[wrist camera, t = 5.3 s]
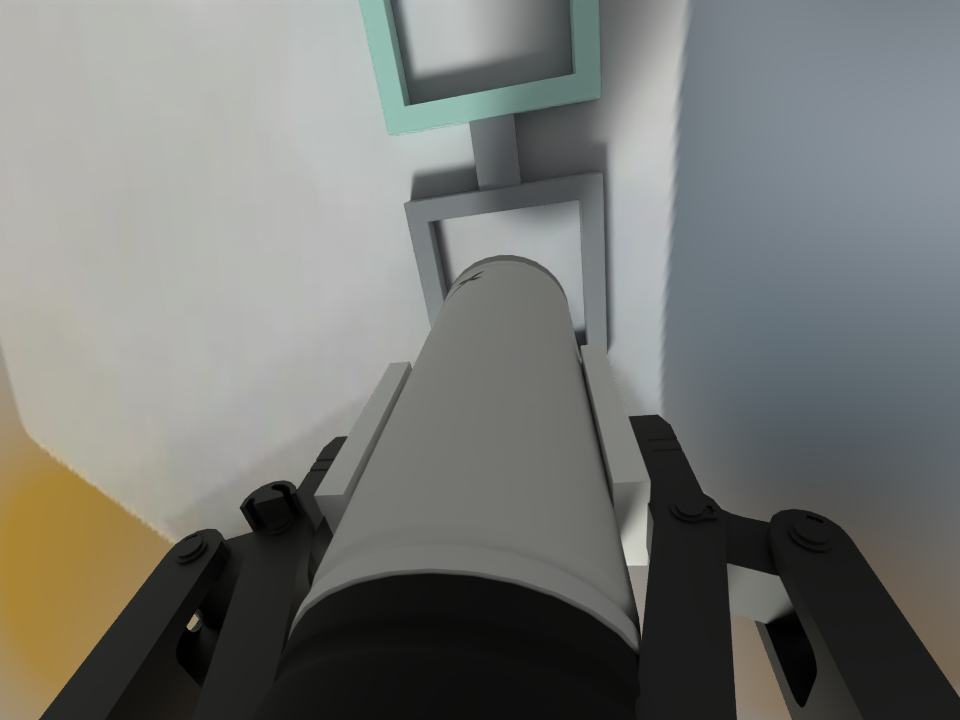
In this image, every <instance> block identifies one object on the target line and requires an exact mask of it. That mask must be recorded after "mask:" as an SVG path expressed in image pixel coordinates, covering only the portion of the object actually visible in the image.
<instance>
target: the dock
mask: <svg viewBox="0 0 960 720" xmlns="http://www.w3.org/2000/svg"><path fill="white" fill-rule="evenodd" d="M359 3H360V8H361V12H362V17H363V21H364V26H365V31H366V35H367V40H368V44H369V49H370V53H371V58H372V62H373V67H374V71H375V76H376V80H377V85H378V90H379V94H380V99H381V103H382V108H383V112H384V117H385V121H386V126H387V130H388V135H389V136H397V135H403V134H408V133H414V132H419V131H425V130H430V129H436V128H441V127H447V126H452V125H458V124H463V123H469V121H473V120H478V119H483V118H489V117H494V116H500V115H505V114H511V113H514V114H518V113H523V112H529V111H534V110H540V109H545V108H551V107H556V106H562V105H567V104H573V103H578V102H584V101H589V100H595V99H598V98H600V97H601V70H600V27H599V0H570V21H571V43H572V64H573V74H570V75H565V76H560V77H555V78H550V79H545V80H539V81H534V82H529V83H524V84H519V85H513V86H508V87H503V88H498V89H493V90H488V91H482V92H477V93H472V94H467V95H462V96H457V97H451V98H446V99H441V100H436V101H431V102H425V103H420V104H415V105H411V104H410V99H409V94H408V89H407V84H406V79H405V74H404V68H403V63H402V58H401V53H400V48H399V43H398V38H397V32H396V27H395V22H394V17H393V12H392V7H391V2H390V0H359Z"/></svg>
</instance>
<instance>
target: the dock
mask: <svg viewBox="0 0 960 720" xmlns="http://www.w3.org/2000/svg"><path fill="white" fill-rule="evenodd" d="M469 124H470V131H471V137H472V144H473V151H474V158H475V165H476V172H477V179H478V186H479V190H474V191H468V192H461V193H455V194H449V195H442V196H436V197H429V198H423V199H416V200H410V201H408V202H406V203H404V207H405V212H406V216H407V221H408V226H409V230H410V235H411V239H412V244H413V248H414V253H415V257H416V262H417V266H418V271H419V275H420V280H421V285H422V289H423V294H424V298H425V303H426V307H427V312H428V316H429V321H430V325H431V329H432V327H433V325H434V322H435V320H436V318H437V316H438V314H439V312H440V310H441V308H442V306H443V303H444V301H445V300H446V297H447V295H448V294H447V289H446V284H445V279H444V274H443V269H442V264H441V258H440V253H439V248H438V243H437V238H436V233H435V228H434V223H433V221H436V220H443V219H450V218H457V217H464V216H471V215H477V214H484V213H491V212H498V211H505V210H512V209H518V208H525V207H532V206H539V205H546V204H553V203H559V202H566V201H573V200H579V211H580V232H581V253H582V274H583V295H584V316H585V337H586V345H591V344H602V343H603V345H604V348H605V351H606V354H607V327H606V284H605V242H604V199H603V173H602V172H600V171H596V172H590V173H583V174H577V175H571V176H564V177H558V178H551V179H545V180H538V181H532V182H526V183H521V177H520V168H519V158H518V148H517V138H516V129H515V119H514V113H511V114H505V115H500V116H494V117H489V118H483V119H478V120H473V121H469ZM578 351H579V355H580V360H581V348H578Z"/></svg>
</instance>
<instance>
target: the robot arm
mask: <svg viewBox="0 0 960 720" xmlns="http://www.w3.org/2000/svg"><path fill="white" fill-rule="evenodd" d="M581 365H582V370H583V374H584V379H585V383H586V387H587V392H588V396H589V401H590V405H591V410H592V414H593V419H594V423H595V427H596V432H597V436H598V441H599V445H600V450H601V454H602V459H603V463H604V467H605V472H606V476H607V481H608V485H609V490H610V494H611V498H612V503H613V507H614V511H615V514H616V519H617V523H618V528H619V532H620V537H621V541H622V545H623V550H624V554H625V559H626V563H627V566H639V565H641V566H642V565H647V559H648V555H649V559H650V563H649V573H648V583H647V593H646V602H645V612H644V622H643V631H642V641H641V651H640V661H639V670H638V678H639V683H640V688H641V692H640V696H639V697H637V698H636V700H635V713H636V718H637V720H737V716H736V699H735V683H734V668H733V651H732V636H731V620H730V613H732V614H735V615H739V616H742V617H745V618H749V619H752V620H755V623H756V626H757V628H758V631H759V634H760V636H761V639H762V642H763V644H764V647H765V650H766V652H767V655H768V658H769V660H770V663H771V665H772V668H773V671H774V673H775V676H776V679H777V681H778V684H779V687H780V689H781V692H782V695H783V697H784V700H785V703H786V705H787V708H788V710H789V713H790V716H791V718H792V720H960V697H959V696H958V694H957V693H956V691H955V690H954V689H953V687H952V686H951V684H950V683H949V681H948V680H947V678H946V677H945V675H944V674H943V672H942V671H941V670H940V668H939V667H938V665H937V664H936V662H935V661H934V659H933V658H932V656H931V655H930V653H929V652H928V650H927V649H926V648H925V646H924V645H923V643H922V642H921V640H920V639H919V637H918V636H917V635H916V633H915V631H914V630H913V629H912V627H911V626H910V624H909V623H908V621H907V620H906V619H905V617H904V615H903V614H902V612H901V611H900V609H899V608H898V607H897V605H896V604H895V603H894V601H893V599H892V598H891V596H890V595H889V593H888V592H887V591H886V589H885V587H884V586H883V585H882V583H881V582H880V580H879V579H878V577H877V576H876V574H875V573H874V571H873V570H872V569H871V567H870V565H869V564H868V563H867V561H866V560H865V558H864V557H863V555H862V554H861V552H860V551H859V549H858V548H857V547H856V545H855V543H854V542H853V541H852V539H851V538H850V537H849V536H848V534H847V533H846V532H845V531H844V530H843V529H842V528H841V527H840V526H838V525H837V524H835V523H834V522H832V521H831V520H829V519H827V518H826V517H824V516H821V515H818V514H816V513H813V512H810V511H805V510H798V509H790V510H782V511H780V512H778V513H777V514H775V515H773V516H772V518H771V521H770V522H765V521H760V520H755V519H750V518H745V517H741V516H738V515H734V514H731V513H729V512H727V511H725V510H723V509H721V507H720V506H719V505H718V504H717V503H716V502H715V501H714V500H713V499H712V498H710V497H709V496H707V495H705V494H704V493H703V491H702V490H701V487H700V485H699V483H698V481H697V479H696V477H695V475H694V473H693V471H692V469H691V467H690V465H689V462H688V460H687V458H686V456H685V454H684V452H683V451H682V448H681V446H680V444H679V442H678V440H677V437H676V435H675V433H674V431H673V429H672V427H671V425H670V424H669V423H667V422H666V421H665V420H664V419H663V418H661V417H660V416H659V415H644V416H629V417H628V415H627V412H626V409H625V406H624V403H623V400H622V397H621V394H620V391H619V389H618V386H617V383H616V380H615V377H614V374H613V371H612V368H611V366H610V363H609V360H608V357H607V354H606V351H605V348H604V345H603V343H602V344H591V345H581ZM411 371H412V368H411V364H410V361H409V362H399V363H390V365H389V367H388V368H387V370H386V372H385V373H384V375H383V377H382V379H381V380H380V382H379V384H378V386H377V387H376V389H375V391H374V392H373V394H372V396H371V398H370V399H369V401H368V403H367V405H366V406H365V408H364V410H363V411H362V413H361V415H360V417H359V418H358V420H357V422H356V424H355V425H354V427H353V429H352V430H351V432H350V434H349V436H344V437H336V438H335V439H333V440H332V441H331V442H330V443H329V444H328V445H327V446H325V447H324V448H323V450H322V451H321V453H320V455H319V456H318V458H317V459H316V462H315V463H314V464H313V466H312V467H311V469H310V472H308V474H307V475H306V477H305V478H304V480H303V481H302V483H301V485H300V486H299V488H298V489H296V487H295V485H293V484H292V483H291V482H289V481H284V480H283V481H275V482H272V483H269V484H266V485H264V486H262V487H260V488H259V489H257V490H255V491H254V492H252V493H251V494H250V495H249V496H248V497H247V498H246V499H245V500H244V501H243V503H242V505H241V506H240V509H241V511H242V513H243V515H244V516H245V518H246V520H247V521H248V523H249V525H250V527H251V528H252V530H253V532H251V533H248V534H244V535H241V536H238V537H234V538H231V539H227V540H225V539H224V538H223V536H222V534H221V533H220V532H219V531H217V530H216V529H204V530H200V531H197V532H195V533H193V534H191V535H189V536H187V537H185V538H184V539H182V540H181V541H180V542H178V543H177V544H175V546H174V547H173V548H172V549H171V550H170V551H169V552H168V553H167V554H166V555H165V557H164V558H163V559H162V560H161V562H160V563H159V564H158V566H157V567H156V568H155V570H154V571H153V572H152V574H151V575H150V576H149V577H148V579H147V580H146V581H145V583H144V584H143V585H142V587H141V588H140V589H139V590H138V592H137V593H136V594H135V596H134V597H133V598H132V600H131V601H130V602H129V603H128V605H127V606H126V607H125V609H124V610H123V611H122V612H121V614H120V615H119V616H118V618H117V619H116V620H115V622H114V623H113V624H112V625H111V627H110V628H109V629H108V631H107V632H106V633H105V635H104V636H103V637H102V638H101V640H100V641H99V642H98V644H97V645H96V646H95V647H94V649H93V650H92V651H91V653H90V654H89V655H88V657H87V658H86V659H85V661H84V662H83V663H82V664H81V666H80V667H79V668H78V670H77V671H76V672H75V674H74V675H73V676H72V677H71V679H70V680H69V681H68V683H67V684H66V685H65V686H64V688H63V689H62V690H61V692H60V693H59V694H58V696H57V697H56V698H55V700H54V701H53V702H52V703H51V705H50V706H49V708H48V709H47V710H46V711H45V712H44V714H43V715H42V717H41V718H40V719H39V720H252V717H253V715H254V713H255V711H256V709H257V706H258V704H259V702H260V701H261V699H262V698H263V697H264V696H265V694H266V693H267V692H268V691H269V689H270V688H271V687H272V686H273V682H274V677H275V673H276V669H277V665H278V661H279V659H280V657H281V655H282V653H283V651H284V648H285V646H286V644H287V642H288V638H289V634H290V630H291V627H292V623H293V621H294V619H295V617H296V615H297V612H298V610H299V608H300V606H301V604H302V602H303V601H304V599H305V598H306V597H307V595H308V594H309V592H310V591H311V587H312V584H313V580H314V577H315V574H316V572H317V570H318V568H319V566H320V564H321V562H322V560H323V557H324V555H325V553H326V551H327V549H328V547H329V545H330V543H331V540H332V538H333V536H334V534H335V532H336V530H337V528H338V526H339V524H340V521H341V519H342V517H343V515H344V513H345V511H346V509H347V507H348V504H349V502H350V500H351V498H352V496H353V494H354V492H355V490H356V488H357V485H358V483H359V481H360V479H361V477H362V475H363V473H364V471H365V468H366V466H367V464H368V462H369V460H370V458H371V456H372V454H373V452H374V449H375V447H376V445H377V443H378V441H379V439H380V437H381V435H382V433H383V430H384V428H385V426H386V424H387V422H388V420H389V418H390V416H391V413H392V411H393V409H394V407H395V405H396V403H397V401H398V399H399V397H400V394H401V392H402V390H403V388H404V386H405V384H406V382H407V380H408V377H409V375H410V373H411ZM194 614H195V615H196V616H197V617H198V619H199V620H198V622H197V623H196V625H195V626H194V627H193V628H192V630H188V628H187V627H186V626H187V624H188V623H189V622H190V620H191V618H192V617H193V615H194Z"/></svg>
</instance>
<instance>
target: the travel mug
mask: <svg viewBox="0 0 960 720" xmlns="http://www.w3.org/2000/svg"><path fill="white" fill-rule="evenodd" d="M641 641H642V640H641V632H640V623H639V616H638V612H637V607H636V603H635V598H634V594H633V590H632V585H631V581H630V577H629V572H628V567H627V563H626V559H625V554H624V550H623V545H622V541H621V537H620V532H619V528H618V523H617V519H616V514H615V511H614V507H613V503H612V498H611V494H610V490H609V485H608V481H607V476H606V472H605V467H604V463H603V459H602V454H601V450H600V445H599V441H598V436H597V432H596V427H595V423H594V419H593V414H592V410H591V405H590V401H589V396H588V392H587V387H586V383H585V379H584V374H583V370H582V365H581V360H580V355H579V351H578V346H577V342H576V338H575V333H574V329H573V324H572V320H571V315H570V311H569V307H568V302H567V298H566V296H565V293H564V290H563V288H562V286H561V285H560V283H559V282H558V280H557V279H556V277H554V276H553V275H552V274H551V273H550V272H549V271H548V270H547V269H546V268H545V267H543V266H541V265H540V264H538V263H537V262H535V261H532V260H530V259H527V258H524V257H519V256H513V255H498V256H494V257H489V258H485V259H483V260H481V261H478V262H476V263H474V264H473V265H471V266H470V267H468V268H467V269H466V270H464V271H463V272H462V273H461V275H460V276H459V277H458V278H457V279H456V280H455V282H454V284H453V285H452V287H451V289H450V291H449V293H448V295H447V297H446V300H445V301H444V303H443V306H442V308H441V310H440V312H439V314H438V316H437V318H436V320H435V322H434V325H433V327H432V329H431V331H430V333H429V335H428V337H427V339H426V341H425V344H424V346H423V348H422V350H421V352H420V354H419V356H418V358H417V361H416V363H415V365H414V367H413V369H412V371H411V373H410V375H409V377H408V380H407V382H406V384H405V386H404V388H403V390H402V392H401V394H400V397H399V399H398V401H397V403H396V405H395V407H394V409H393V411H392V413H391V416H390V418H389V420H388V422H387V424H386V426H385V428H384V430H383V433H382V435H381V437H380V439H379V441H378V443H377V445H376V447H375V449H374V452H373V454H372V456H371V458H370V460H369V462H368V464H367V466H366V468H365V471H364V473H363V475H362V477H361V479H360V481H359V483H358V485H357V488H356V490H355V492H354V494H353V496H352V498H351V500H350V502H349V504H348V507H347V509H346V511H345V513H344V515H343V517H342V519H341V521H340V524H339V526H338V528H337V530H336V532H335V534H334V536H333V538H332V540H331V543H330V545H329V547H328V549H327V551H326V553H325V555H324V557H323V560H322V562H321V564H320V566H319V568H318V570H317V572H316V574H315V577H314V580H313V584H312V587H311V591H310V592H309V594H308V595H307V597H306V598H305V599H304V601H303V602H302V604H301V606H300V608H299V610H298V612H297V615H296V617H295V619H294V621H293V623H292V627H291V630H290V634H289V638H288V642H287V644H286V646H285V648H284V651H283V653H282V655H281V657H280V659H279V661H278V665H277V669H276V673H275V677H274V682H273V686H272V687H271V688H270V689H269V691H268V692H267V693H266V694H265V696H264V697H263V698H262V699H261V701H260V702H259V704H258V706H257V709H256V711H255V713H254V715H253V717H252V720H637V718H636V713H635V700H636V698H637V697H639V696H640V692H641V688H640V683H639V678H638V670H639V661H640V651H641Z"/></svg>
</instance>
